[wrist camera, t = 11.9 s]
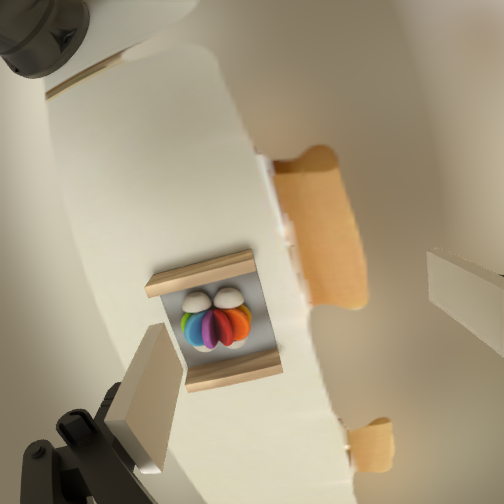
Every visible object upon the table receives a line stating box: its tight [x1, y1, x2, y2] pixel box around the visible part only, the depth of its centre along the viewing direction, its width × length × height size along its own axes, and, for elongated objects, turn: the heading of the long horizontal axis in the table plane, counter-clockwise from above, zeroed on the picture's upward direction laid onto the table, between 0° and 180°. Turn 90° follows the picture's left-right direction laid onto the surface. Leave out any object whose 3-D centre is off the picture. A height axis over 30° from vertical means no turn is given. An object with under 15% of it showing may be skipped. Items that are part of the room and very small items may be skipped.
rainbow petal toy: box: [181, 288, 252, 352], centre depth 41 cm, size 8×10×7 cm
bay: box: [144, 249, 283, 393], centre depth 43 cm, size 17×14×5 cm
